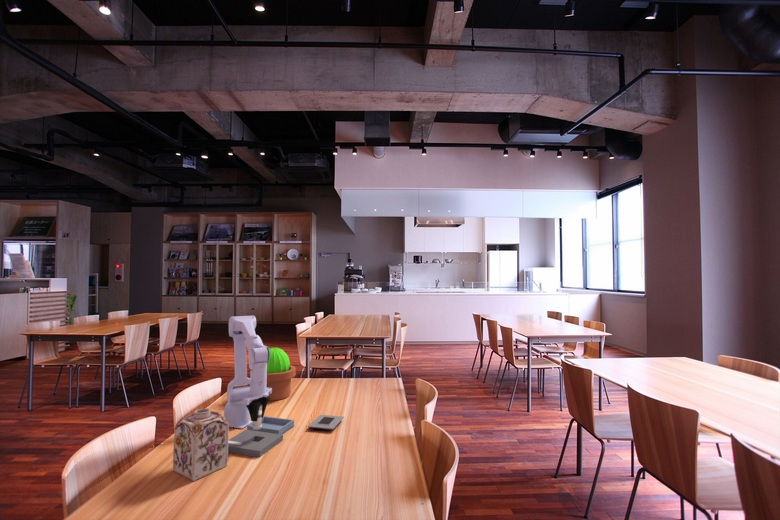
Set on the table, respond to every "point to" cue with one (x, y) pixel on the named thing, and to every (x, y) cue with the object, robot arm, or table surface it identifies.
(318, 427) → the electrical outlet
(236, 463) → the table surface
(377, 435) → the table surface
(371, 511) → the table surface
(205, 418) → the decorative jar
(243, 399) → the robot arm
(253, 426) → the white light bulb
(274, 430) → the tray
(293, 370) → the potted cactus
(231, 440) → the light bulb socket board
